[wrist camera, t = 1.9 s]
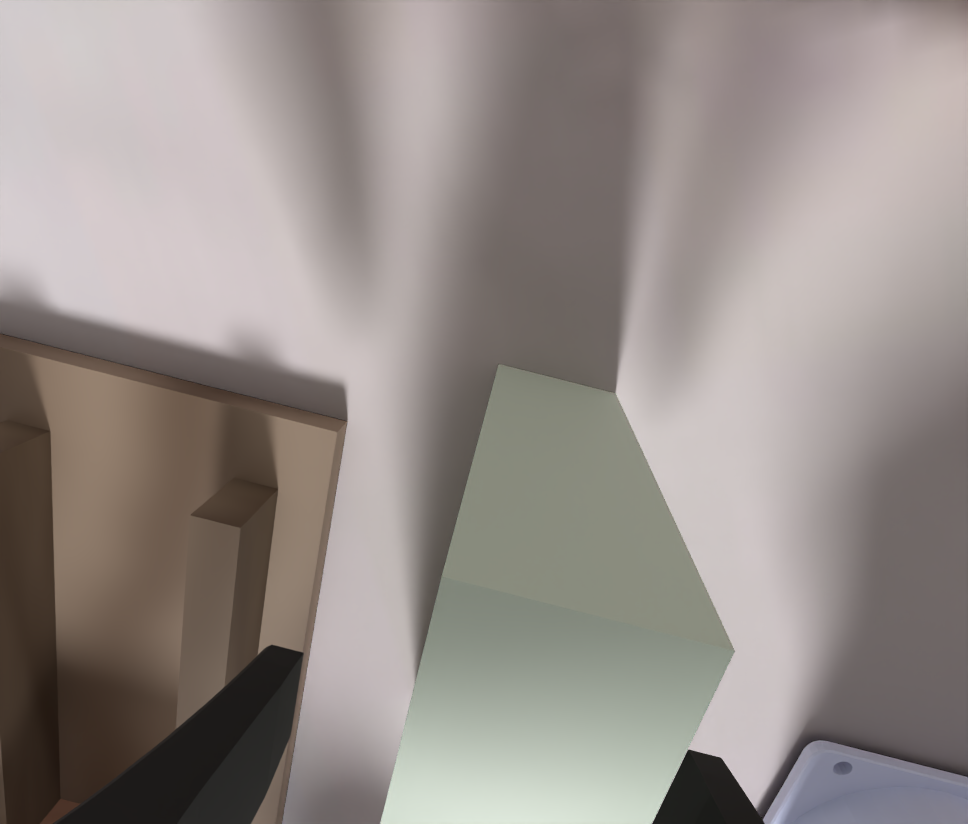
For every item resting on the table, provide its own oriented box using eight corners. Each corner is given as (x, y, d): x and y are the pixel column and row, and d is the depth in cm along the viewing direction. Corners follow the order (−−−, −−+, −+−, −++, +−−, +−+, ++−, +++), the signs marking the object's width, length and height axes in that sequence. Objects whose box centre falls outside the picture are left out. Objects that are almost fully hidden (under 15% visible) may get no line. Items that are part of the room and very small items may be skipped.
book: (615, 392, 14) (734, 650, 6) (508, 717, 18) (482, 1174, 9) (498, 363, 14) (441, 576, 6) (415, 693, 18) (304, 1128, 9)
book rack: (347, 421, 15) (203, 572, 8) (274, 866, 21) (158, 1153, 14) (-18, 328, 15) (-435, 409, 9) (13, 798, 21) (-219, 1053, 14)
